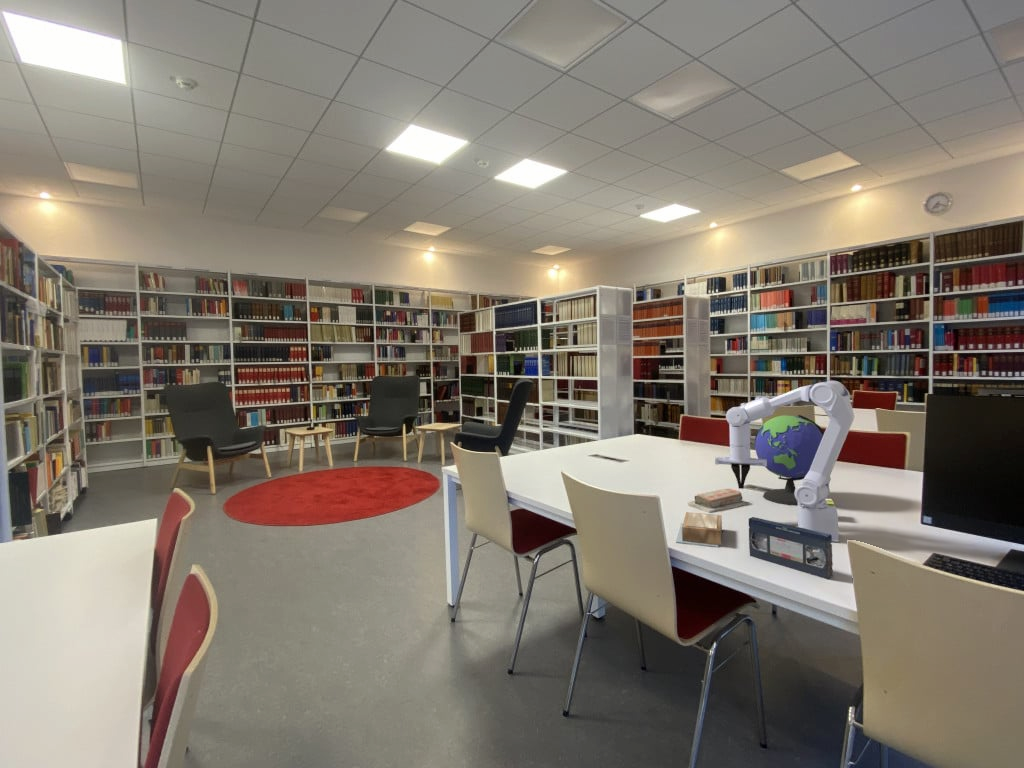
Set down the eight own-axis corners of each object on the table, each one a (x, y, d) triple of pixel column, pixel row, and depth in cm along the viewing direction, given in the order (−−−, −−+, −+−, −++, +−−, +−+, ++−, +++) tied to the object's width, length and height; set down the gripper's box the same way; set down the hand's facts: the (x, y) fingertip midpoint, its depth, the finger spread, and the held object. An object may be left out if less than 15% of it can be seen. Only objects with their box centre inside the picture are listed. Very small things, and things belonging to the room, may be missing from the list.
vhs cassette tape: (748, 556, 123) (747, 518, 122) (754, 553, 124) (753, 515, 124) (827, 580, 108) (827, 537, 107) (833, 577, 109) (832, 534, 109)
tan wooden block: (721, 514, 142) (686, 511, 146) (720, 530, 129) (681, 526, 133) (721, 528, 142) (686, 524, 146) (721, 545, 129) (682, 541, 134)
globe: (775, 486, 185) (774, 410, 183) (839, 498, 166) (837, 414, 165) (742, 497, 173) (740, 416, 171) (807, 512, 154) (805, 420, 153)
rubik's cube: (834, 521, 145) (834, 503, 144) (813, 519, 147) (813, 502, 147) (831, 516, 149) (831, 498, 149) (811, 514, 152) (811, 497, 152)
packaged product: (724, 485, 174) (747, 492, 164) (724, 498, 174) (748, 505, 165) (686, 493, 166) (709, 500, 157) (687, 506, 167) (709, 514, 157)
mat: (719, 527, 143) (719, 526, 143) (718, 547, 129) (718, 546, 129) (681, 524, 148) (681, 523, 148) (675, 542, 133) (675, 541, 133)
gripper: (765, 443, 148) (766, 486, 149) (715, 442, 155) (716, 483, 155) (766, 447, 142) (767, 492, 143) (714, 445, 148) (715, 488, 149)
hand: (741, 487), depth 148 cm, fingers closed
